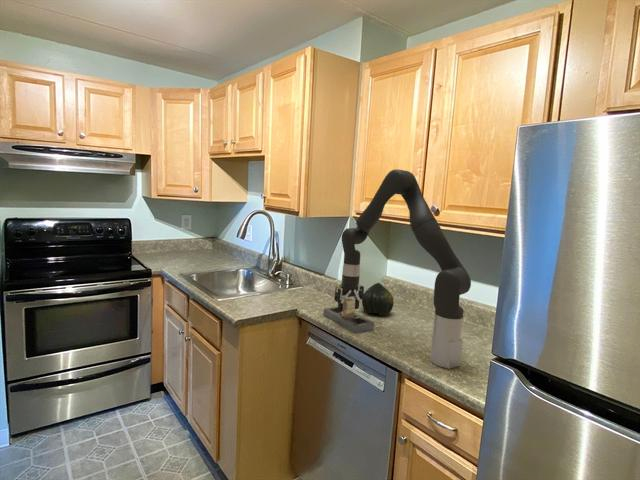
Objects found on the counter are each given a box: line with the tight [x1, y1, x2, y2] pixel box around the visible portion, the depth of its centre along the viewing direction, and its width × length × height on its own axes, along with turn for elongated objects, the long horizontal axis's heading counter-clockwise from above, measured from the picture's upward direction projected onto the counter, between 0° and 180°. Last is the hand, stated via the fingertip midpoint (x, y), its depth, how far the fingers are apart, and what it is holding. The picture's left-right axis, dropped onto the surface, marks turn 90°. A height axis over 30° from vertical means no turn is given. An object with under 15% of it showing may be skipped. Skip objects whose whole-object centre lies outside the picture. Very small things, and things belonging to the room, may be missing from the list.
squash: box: [361, 282, 395, 317], centre depth 180 cm, size 14×15×15 cm
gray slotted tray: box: [322, 306, 375, 334], centre depth 165 cm, size 24×10×3 cm, turn 32°
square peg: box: [341, 298, 356, 319], centre depth 165 cm, size 4×4×10 cm
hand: (348, 309), depth 165 cm, fingers open, 8 cm apart
